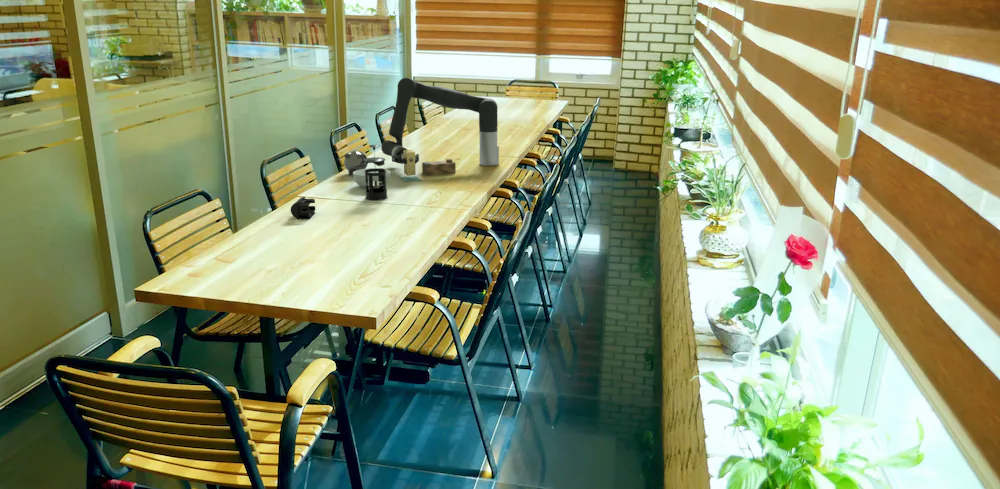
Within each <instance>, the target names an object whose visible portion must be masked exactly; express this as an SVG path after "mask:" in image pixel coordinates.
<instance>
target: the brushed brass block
mask: <svg viewBox="0 0 1000 489" xmlns="http://www.w3.org/2000/svg"><path fill="white" fill-rule="evenodd" d="M403 154H404V158H405V159H407V164H403V174H405V175H406V177H411V176H416V164H415V155H416V152H415V151H414V150H412V149H407V150H403Z"/></svg>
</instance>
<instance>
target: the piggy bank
mask: <svg viewBox="0 0 1000 489" xmlns="http://www.w3.org/2000/svg"><path fill="white" fill-rule="evenodd" d="M367 156H368V155H366V153H365V152H363V151H361V150H357V149H356V150H352V151H349V152H346V153H345V154H344V160H343V164H344V168H345V169H346V170H347V172H348V176H353V172H354V171H357V170H361V169H367V167H368V164H369V163H367V164H366V165H365V161H364V159H366V158H368V157H367Z"/></svg>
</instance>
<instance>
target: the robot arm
mask: <svg viewBox="0 0 1000 489" xmlns="http://www.w3.org/2000/svg"><path fill="white" fill-rule="evenodd" d="M396 95H397V96H396V102H395V106H394V111H393V114H392V118H391V122H390V126H389V130H388V135H389V136H390V137H393V138H395V141H392V140H390V139H389V140H387V139H386V140H384V141H383V142H382V144H381V148H380V149H381V151H382V153H383V154H384V155H386V156H389V157H391V162H394V163H396V164H401V165H404V164H407V159H405V158H404V154H403V150H408V148H406V147H404V146H403V137H404V136H403V135H404V130H405V127H406V122H407V115H408V109H409V105H410V102H411V99H412V98H414V99H421V100H424V101H427V102H430V103H432V104H436V105H438V106H441V107H446V108H450V109H454V110H466V111H467V110H468V111H472V112H474V113H478V125H479V128H478V130H479V131H478V132H479V133H478V134H479V135H478V136H479V165H481V166H486V167H487V166H489V167H491V166H492V167H493V166H497V165H499V164H500V163H499V162H500V146H499V145H498V104H497V102H496V101H495V100H493V99H492V98H489V97H481V96H476V95H475V96H474V95H470V94H468V93H465V92H463V91H459V90H455V89H451V88H448V87H444V86H437V85H436V86H435V85H427V84H424V83H421V82H418V81H415V80H413V79H412V78H410V77H403V78H401V79H400V80H399V81H398V82H397V94H396ZM417 163H420V154H419V153H415V165H416V164H417Z"/></svg>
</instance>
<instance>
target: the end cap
mask: <svg viewBox="0 0 1000 489" xmlns="http://www.w3.org/2000/svg"><path fill="white" fill-rule="evenodd" d="M315 203H316V201H315V198H306V196H302V197H300V198H299V199H298V200H296V201H295V202H294V203H293V204H292V205H291V206H290V214H291V215H292V216H293V217H294V218H295V219H298V220H311V219H312V217H313V216H315V214H316V212H315V211H316V206H315V205H312V204H315ZM310 204H311V205H310Z"/></svg>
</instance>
